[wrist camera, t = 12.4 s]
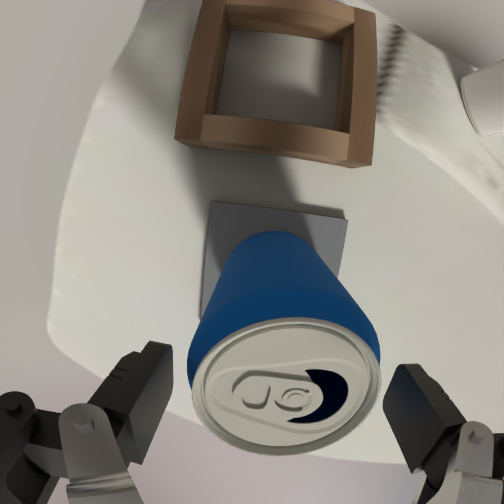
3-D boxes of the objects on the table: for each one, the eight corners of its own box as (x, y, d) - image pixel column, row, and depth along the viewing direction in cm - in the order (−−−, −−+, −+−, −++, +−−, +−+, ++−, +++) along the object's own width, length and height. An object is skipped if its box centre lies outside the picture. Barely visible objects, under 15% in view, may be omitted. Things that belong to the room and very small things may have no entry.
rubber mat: (345, 219, 19) (348, 220, 18) (321, 337, 21) (322, 341, 20) (212, 201, 19) (210, 201, 18) (202, 324, 21) (200, 328, 20)
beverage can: (308, 326, 20) (349, 463, 8) (218, 312, 20) (176, 448, 8) (330, 238, 18) (426, 317, 7) (232, 220, 18) (183, 282, 7)
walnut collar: (360, 34, 15) (375, 13, 12) (352, 168, 18) (371, 165, 14) (213, 14, 15) (206, -11, 12) (189, 146, 18) (173, 138, 14)
